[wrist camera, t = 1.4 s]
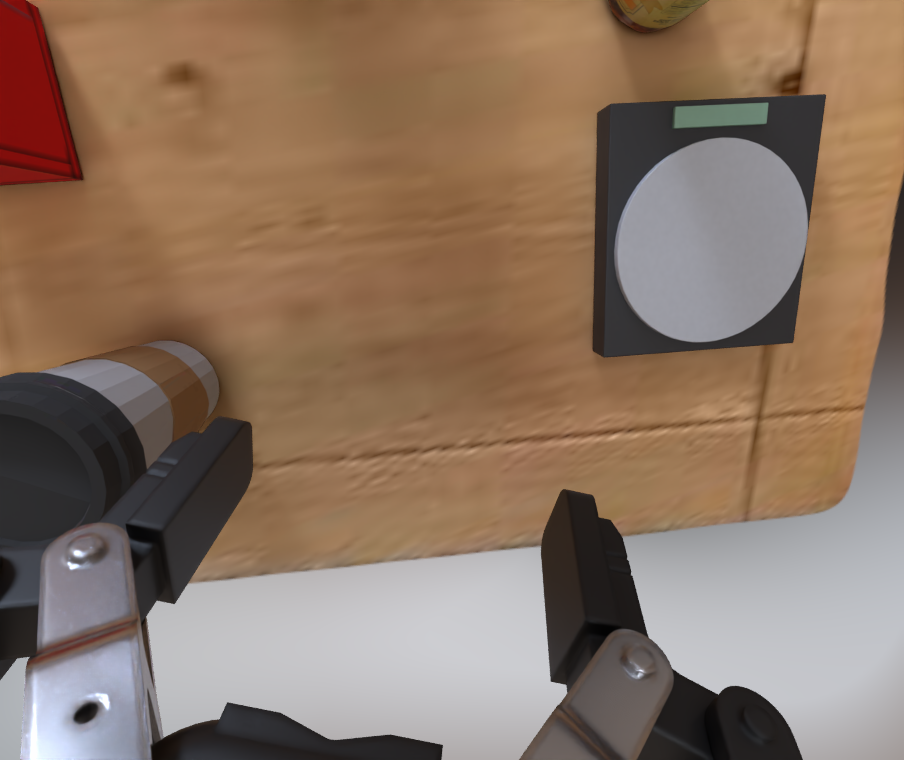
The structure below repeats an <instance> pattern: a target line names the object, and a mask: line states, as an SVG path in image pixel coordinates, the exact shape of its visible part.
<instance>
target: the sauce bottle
mask: <svg viewBox="0 0 904 760" xmlns="http://www.w3.org/2000/svg"><path fill="white" fill-rule="evenodd" d="M608 1H609V3H610V7H611V9H612V12H613V14H614V15H615V16H616V17H617V18H618V20H620V21H621V22H623V23H625V24H626V25H628V26H629V27H631V28H633V29H634V30H636V31H640V32H643V33H645V32H652V31H657V30H659V29H663V28H665V27H670V26H672V25H674V24H676V23H678V22H679V21H681V20H682V19H684V18H685V17H687V16H688V15H690V14H691V13H692V12H694V11H695V10H697V9H698V8H699V7H701V6H702V5H704V4H705V3H706V2H708V1H709V0H608Z"/></svg>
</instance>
